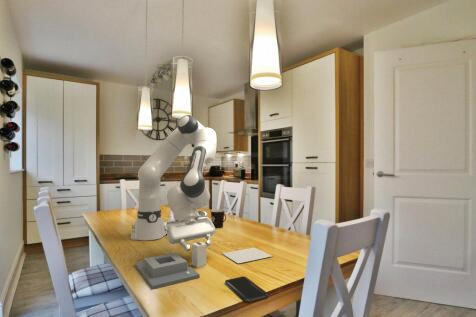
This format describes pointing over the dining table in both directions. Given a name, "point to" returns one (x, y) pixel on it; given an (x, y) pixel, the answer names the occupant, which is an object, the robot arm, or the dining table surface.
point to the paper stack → (246, 255)
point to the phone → (246, 289)
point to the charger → (199, 254)
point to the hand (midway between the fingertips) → (198, 247)
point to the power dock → (167, 277)
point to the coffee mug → (218, 218)
